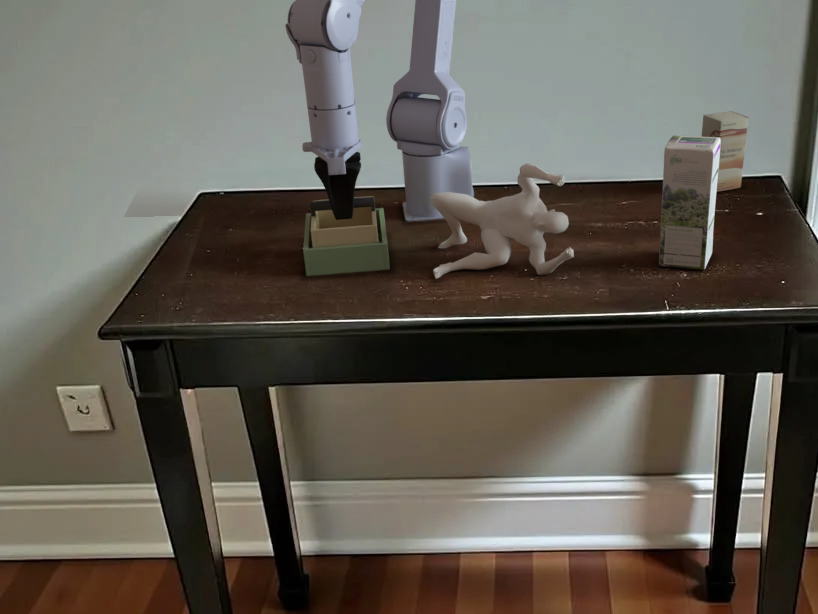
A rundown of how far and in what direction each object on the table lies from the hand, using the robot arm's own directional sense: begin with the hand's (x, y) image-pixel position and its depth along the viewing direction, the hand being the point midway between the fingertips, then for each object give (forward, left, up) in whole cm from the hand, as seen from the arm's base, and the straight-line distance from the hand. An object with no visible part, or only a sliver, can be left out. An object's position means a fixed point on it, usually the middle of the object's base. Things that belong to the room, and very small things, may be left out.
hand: (343, 216), depth 134 cm
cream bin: (0, 0, -4) cm, 4 cm away
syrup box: (-41, +12, -5) cm, 43 cm away
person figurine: (-19, +8, -5) cm, 21 cm away
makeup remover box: (-54, -16, -5) cm, 57 cm away
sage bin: (0, 0, -5) cm, 5 cm away
